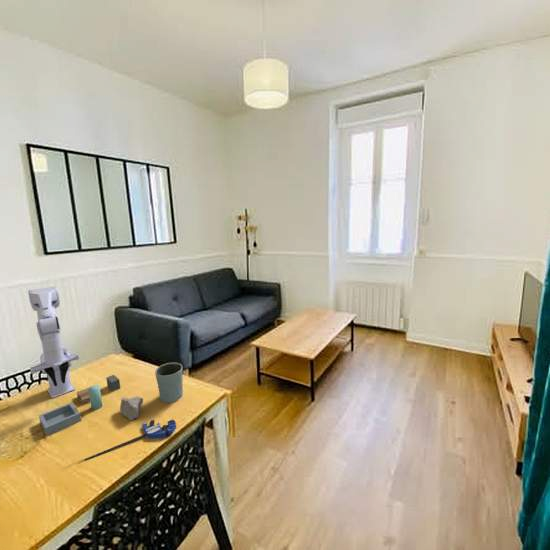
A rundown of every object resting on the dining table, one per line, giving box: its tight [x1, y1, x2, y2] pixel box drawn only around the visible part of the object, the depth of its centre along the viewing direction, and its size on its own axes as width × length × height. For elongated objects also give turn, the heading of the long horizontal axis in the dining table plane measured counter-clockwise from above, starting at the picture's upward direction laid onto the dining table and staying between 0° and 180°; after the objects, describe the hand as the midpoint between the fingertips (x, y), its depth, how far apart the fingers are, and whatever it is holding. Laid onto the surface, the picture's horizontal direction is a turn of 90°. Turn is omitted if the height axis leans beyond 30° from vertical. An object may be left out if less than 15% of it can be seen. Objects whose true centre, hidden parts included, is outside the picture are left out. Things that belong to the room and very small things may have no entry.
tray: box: [38, 402, 82, 437], centre depth 107 cm, size 10×10×3 cm
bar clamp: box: [77, 419, 177, 464], centre depth 96 cm, size 32×2×10 cm
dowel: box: [88, 384, 103, 411], centre depth 115 cm, size 4×4×8 cm
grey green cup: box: [154, 362, 184, 404], centre depth 119 cm, size 10×10×12 cm
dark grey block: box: [105, 374, 121, 392], centre depth 128 cm, size 6×3×4 cm, turn 47°
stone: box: [119, 396, 144, 421], centre depth 111 cm, size 10×8×6 cm
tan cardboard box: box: [76, 386, 91, 406], centre depth 122 cm, size 8×6×2 cm
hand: (59, 383), depth 114 cm, fingers closed
